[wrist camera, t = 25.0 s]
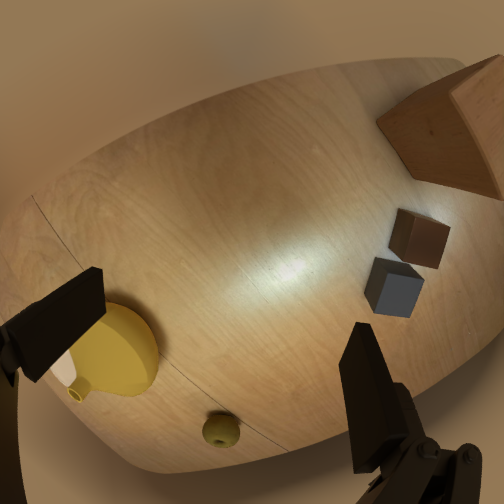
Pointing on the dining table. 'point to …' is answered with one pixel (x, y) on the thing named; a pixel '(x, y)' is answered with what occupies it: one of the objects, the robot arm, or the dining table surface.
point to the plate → (64, 369)
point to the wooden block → (454, 130)
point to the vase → (115, 355)
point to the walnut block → (418, 239)
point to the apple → (221, 431)
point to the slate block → (393, 288)
